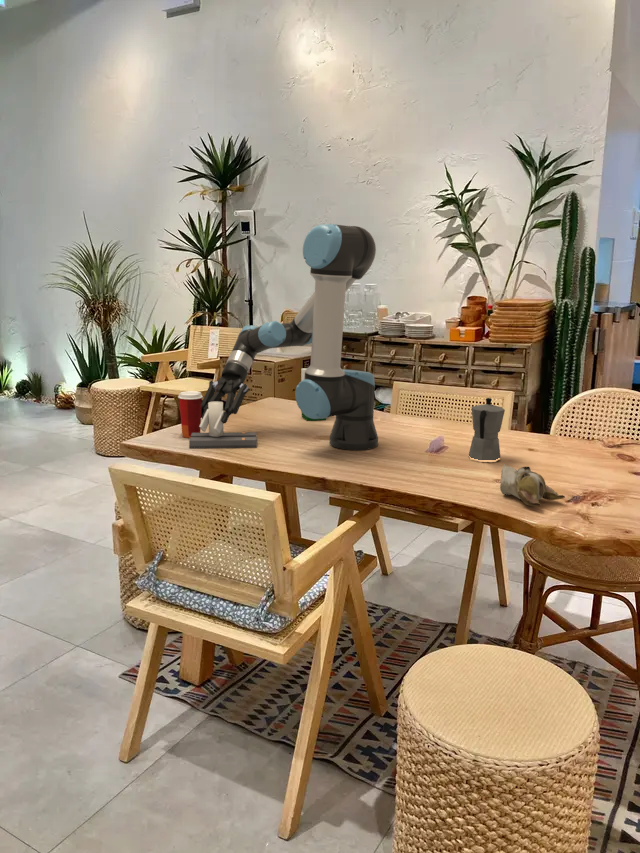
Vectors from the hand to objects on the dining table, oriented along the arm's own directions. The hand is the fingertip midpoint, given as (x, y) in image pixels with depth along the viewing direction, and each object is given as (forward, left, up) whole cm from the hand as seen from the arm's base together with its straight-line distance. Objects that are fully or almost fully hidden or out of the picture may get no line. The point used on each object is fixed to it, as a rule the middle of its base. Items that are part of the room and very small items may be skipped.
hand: (209, 429), depth 203 cm
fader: (-2, -3, -5) cm, 6 cm away
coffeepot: (-79, +18, -5) cm, 81 cm away
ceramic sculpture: (-77, +52, -6) cm, 94 cm away
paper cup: (+7, -14, -5) cm, 16 cm away
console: (-4, -3, -5) cm, 7 cm away
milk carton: (-35, -38, -5) cm, 52 cm away
